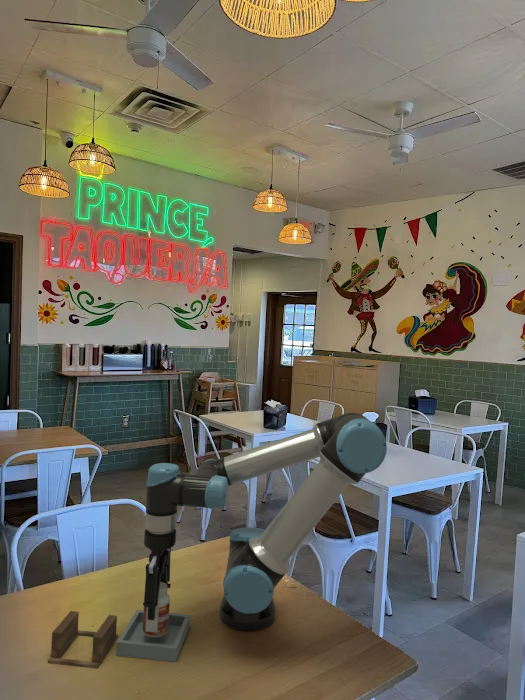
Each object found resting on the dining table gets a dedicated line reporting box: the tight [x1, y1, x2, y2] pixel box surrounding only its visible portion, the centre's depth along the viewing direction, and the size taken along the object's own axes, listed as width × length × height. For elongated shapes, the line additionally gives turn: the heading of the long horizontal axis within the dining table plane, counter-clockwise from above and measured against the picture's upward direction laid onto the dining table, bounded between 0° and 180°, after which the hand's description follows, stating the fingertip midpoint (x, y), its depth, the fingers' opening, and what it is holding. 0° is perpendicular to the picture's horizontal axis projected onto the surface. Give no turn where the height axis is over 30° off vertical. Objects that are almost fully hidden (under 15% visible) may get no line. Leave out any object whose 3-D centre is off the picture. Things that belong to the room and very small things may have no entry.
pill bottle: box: [143, 582, 171, 638], centre depth 120 cm, size 6×6×11 cm
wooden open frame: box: [47, 610, 119, 669], centre depth 115 cm, size 12×12×6 cm
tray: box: [115, 609, 191, 663], centre depth 120 cm, size 14×14×3 cm
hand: (155, 622), depth 120 cm, fingers open, 6 cm apart
